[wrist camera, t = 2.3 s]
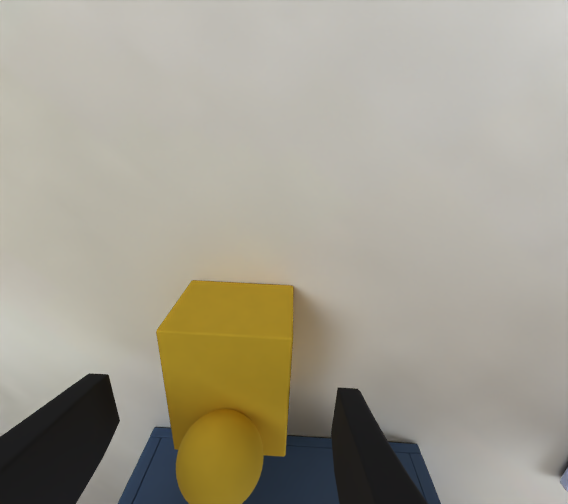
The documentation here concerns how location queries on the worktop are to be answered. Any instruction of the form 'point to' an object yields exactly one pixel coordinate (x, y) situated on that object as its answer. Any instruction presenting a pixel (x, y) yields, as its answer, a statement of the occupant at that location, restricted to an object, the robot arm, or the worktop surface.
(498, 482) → the worktop surface
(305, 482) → the open box
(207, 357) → the duck
